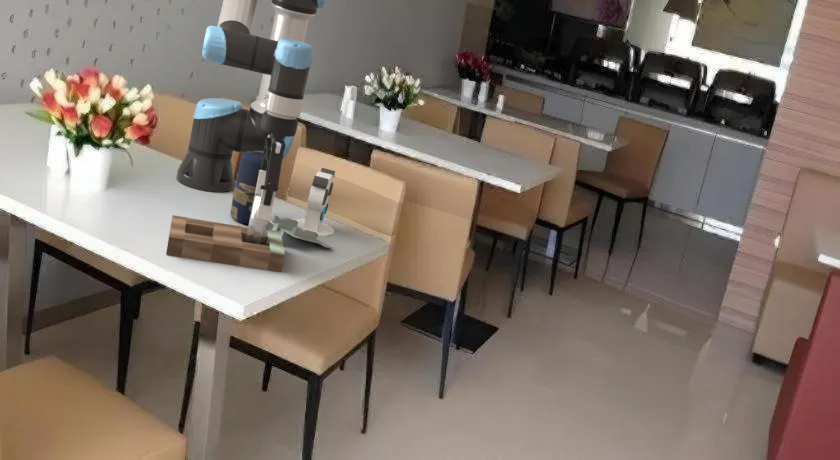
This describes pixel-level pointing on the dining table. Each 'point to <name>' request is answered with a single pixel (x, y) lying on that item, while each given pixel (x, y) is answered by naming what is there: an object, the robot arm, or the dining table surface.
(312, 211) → the white upright piece
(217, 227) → the pin plate
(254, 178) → the canister
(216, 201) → the dining table surface
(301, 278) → the dining table surface
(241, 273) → the dining table surface
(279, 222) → the metal bracket
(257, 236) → the steel pin
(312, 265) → the dining table surface
